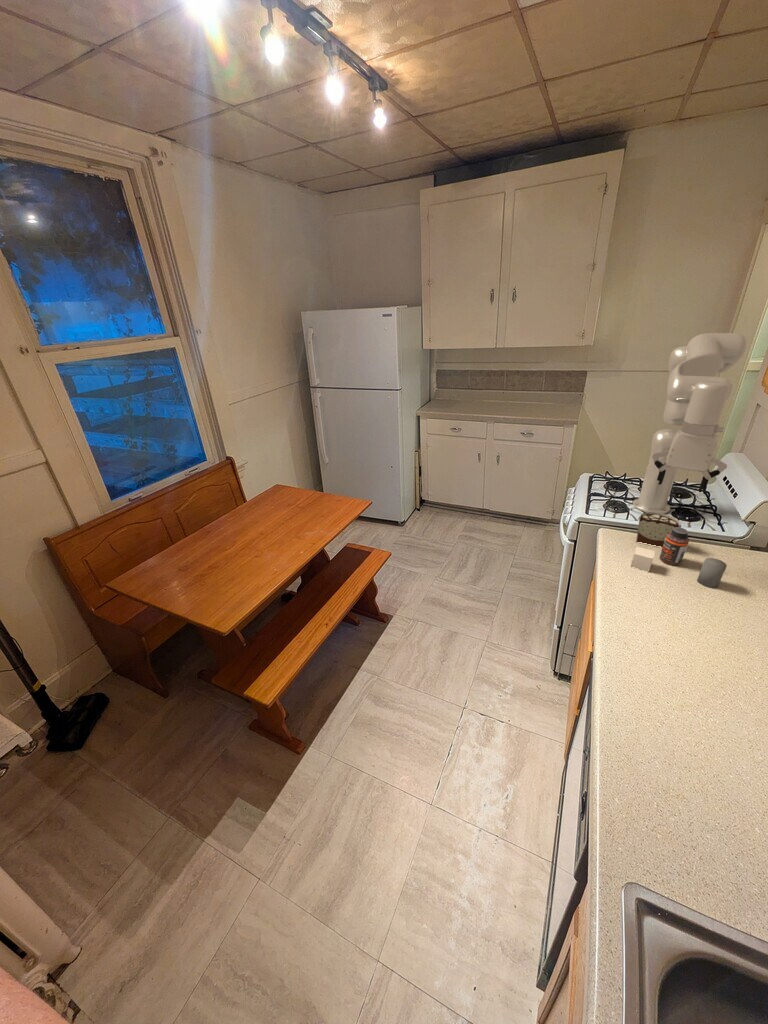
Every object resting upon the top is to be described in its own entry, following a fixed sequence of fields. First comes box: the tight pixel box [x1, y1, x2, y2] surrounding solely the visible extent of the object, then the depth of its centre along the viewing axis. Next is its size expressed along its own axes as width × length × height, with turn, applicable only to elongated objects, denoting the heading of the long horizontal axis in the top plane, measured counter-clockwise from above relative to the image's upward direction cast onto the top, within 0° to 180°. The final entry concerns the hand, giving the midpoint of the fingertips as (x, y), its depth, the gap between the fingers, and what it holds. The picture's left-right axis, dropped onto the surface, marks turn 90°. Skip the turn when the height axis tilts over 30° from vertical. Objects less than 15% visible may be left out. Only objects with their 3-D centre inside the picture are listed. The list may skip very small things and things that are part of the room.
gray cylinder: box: [696, 557, 727, 589], centre depth 117 cm, size 5×5×7 cm
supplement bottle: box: [658, 527, 690, 566], centre depth 126 cm, size 6×6×11 cm
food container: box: [635, 512, 682, 547], centre depth 137 cm, size 12×6×10 cm, turn 58°
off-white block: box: [630, 546, 656, 573], centre depth 126 cm, size 5×5×5 cm
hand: (679, 486), depth 117 cm, fingers open, 9 cm apart
